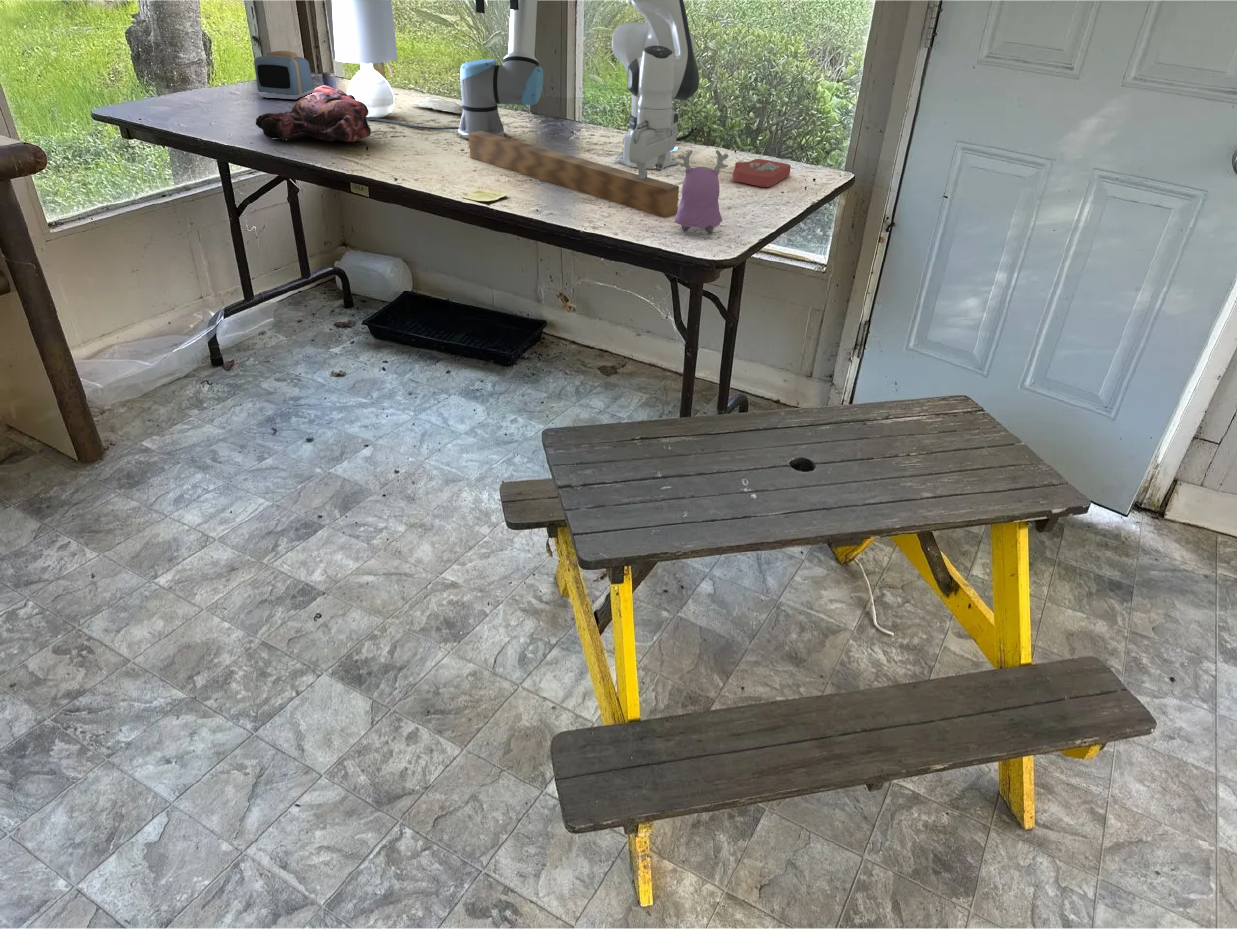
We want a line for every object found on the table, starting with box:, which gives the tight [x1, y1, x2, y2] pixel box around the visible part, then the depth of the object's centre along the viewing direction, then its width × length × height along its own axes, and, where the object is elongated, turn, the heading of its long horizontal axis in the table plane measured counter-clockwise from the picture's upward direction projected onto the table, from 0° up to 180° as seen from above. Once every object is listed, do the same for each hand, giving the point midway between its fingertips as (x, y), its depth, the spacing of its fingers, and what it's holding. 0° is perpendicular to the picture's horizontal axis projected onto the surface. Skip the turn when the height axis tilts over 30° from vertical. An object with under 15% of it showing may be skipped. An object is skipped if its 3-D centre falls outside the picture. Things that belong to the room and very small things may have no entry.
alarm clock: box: [253, 50, 315, 95], centre depth 326 cm, size 16×16×16 cm
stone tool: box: [408, 96, 463, 115], centre depth 318 cm, size 11×3×25 cm
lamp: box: [324, 0, 398, 119], centre depth 295 cm, size 22×22×40 cm
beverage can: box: [321, 71, 338, 90], centre depth 314 cm, size 9×8×12 cm
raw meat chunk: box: [255, 84, 372, 143], centre depth 275 cm, size 43×30×13 cm
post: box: [468, 131, 680, 218], centre depth 243 cm, size 79×5×7 cm, turn 48°
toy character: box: [674, 149, 730, 234], centre depth 207 cm, size 12×10×20 cm
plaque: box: [732, 158, 792, 188], centre depth 254 cm, size 18×4×15 cm
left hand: (497, 11), depth 242 cm, fingers open, 13 cm apart
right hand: (651, 174), depth 222 cm, fingers open, 8 cm apart
